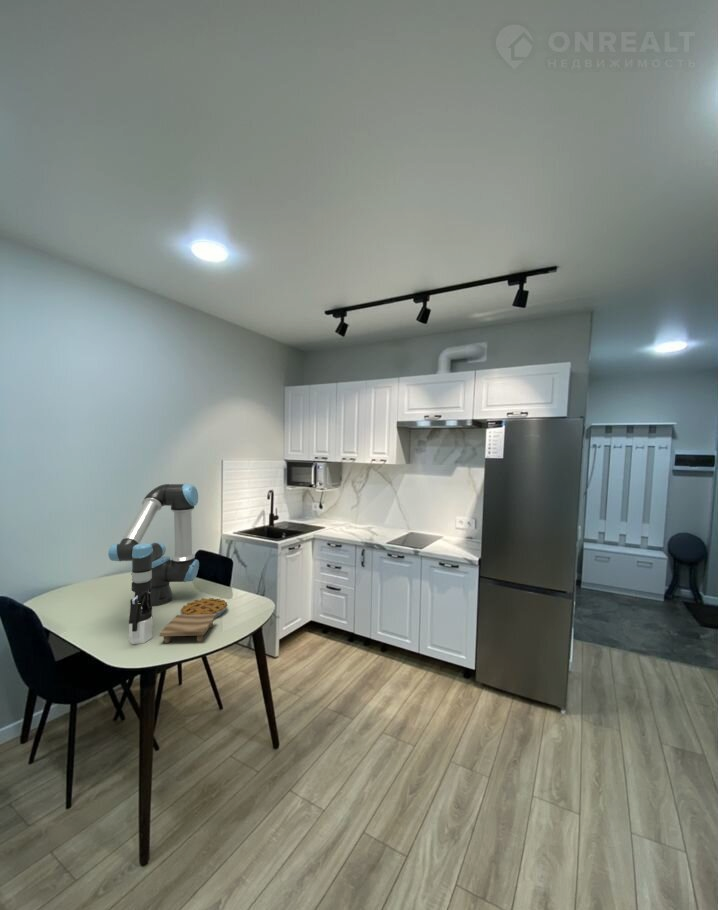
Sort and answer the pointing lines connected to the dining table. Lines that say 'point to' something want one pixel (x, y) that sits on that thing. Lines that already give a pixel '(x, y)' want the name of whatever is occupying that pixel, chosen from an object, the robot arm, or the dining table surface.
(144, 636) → the jar
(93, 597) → the dining table surface
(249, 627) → the dining table surface
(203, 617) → the wooden serving stand
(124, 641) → the dining table surface
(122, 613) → the dining table surface
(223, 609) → the pie
